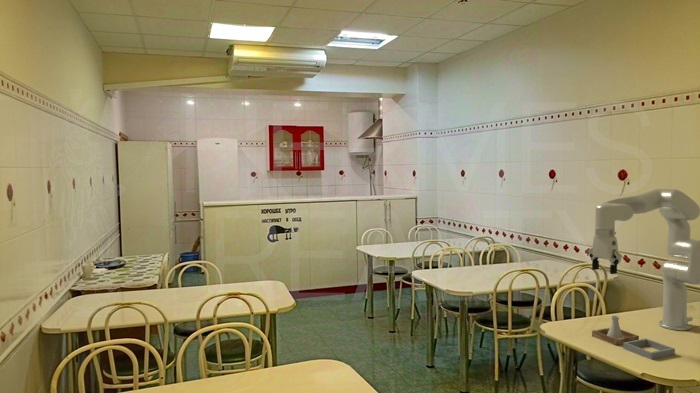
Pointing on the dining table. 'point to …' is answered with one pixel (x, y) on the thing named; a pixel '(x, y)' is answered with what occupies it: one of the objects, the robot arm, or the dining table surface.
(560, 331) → the dining table surface
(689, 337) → the dining table surface
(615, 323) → the flask
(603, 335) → the bin walnut
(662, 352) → the bin grey
